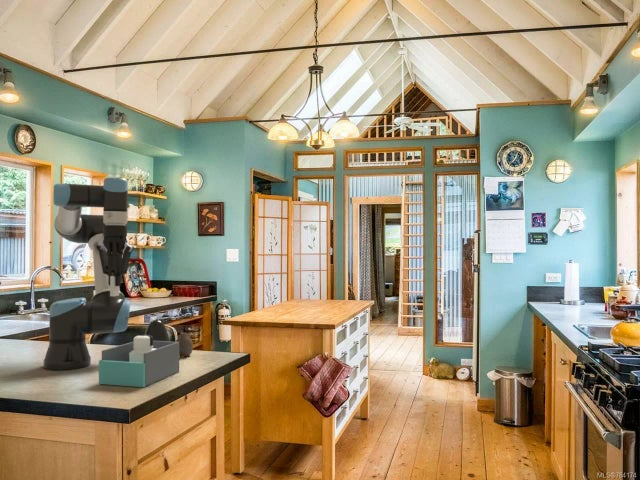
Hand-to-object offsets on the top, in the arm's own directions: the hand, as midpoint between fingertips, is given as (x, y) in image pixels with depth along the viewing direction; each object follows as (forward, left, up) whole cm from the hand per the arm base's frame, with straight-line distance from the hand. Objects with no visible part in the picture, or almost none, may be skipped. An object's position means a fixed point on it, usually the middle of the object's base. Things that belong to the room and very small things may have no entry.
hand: (114, 295), depth 181 cm
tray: (+12, -3, -26) cm, 28 cm away
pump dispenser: (+3, +21, -26) cm, 33 cm away
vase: (+8, +32, -26) cm, 42 cm away
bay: (+12, -3, -26) cm, 28 cm away
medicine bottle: (+12, -2, -25) cm, 27 cm away
